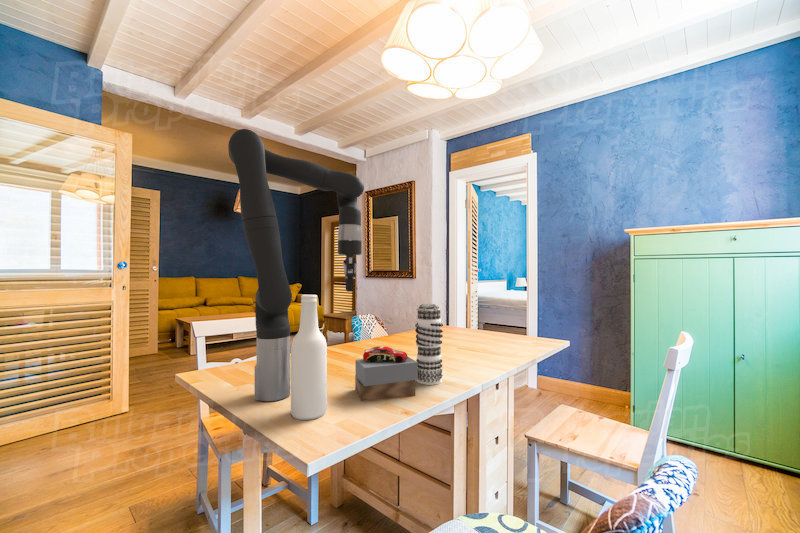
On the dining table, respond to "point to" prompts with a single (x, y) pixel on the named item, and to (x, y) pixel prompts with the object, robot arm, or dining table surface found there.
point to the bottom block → (384, 390)
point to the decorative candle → (429, 344)
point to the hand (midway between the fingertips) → (349, 290)
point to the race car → (384, 354)
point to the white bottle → (308, 365)
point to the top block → (386, 371)
